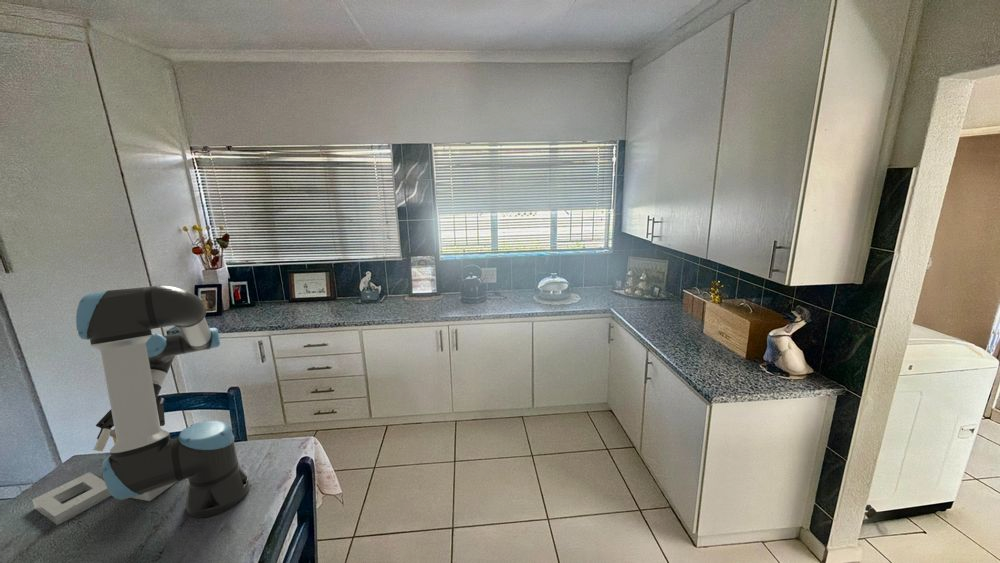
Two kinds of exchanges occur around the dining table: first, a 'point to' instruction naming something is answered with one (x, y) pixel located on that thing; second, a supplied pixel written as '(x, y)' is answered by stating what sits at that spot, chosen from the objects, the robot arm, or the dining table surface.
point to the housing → (60, 512)
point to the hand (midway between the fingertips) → (119, 450)
